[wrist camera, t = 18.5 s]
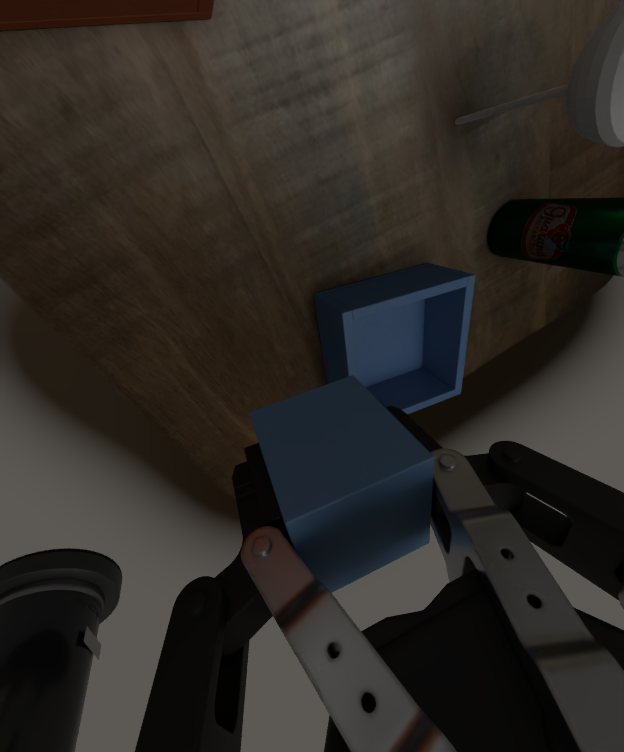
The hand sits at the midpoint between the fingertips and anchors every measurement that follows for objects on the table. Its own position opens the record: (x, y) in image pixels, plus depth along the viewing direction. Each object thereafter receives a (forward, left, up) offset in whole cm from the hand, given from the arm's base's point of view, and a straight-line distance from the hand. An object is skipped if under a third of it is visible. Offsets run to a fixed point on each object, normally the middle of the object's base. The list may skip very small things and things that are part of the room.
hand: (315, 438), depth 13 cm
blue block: (0, 0, 0) cm, 0 cm away
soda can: (+27, +2, -16) cm, 31 cm away
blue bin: (+12, -5, -15) cm, 20 cm away
